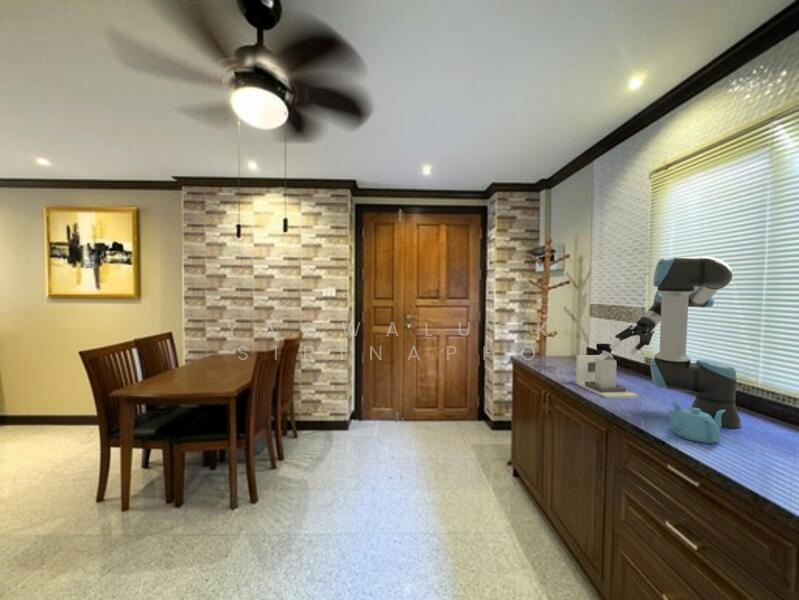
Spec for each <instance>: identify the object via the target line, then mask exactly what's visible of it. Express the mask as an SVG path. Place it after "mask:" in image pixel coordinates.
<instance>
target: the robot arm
mask: <svg viewBox="0 0 799 600" xmlns="http://www.w3.org/2000/svg"><path fill="white" fill-rule="evenodd" d="M732 279H733V270H732V268H731V267H730V266H729V265H728V264H727V263H726V262H724V261H723V260H721V259H720V258H715V257H712V256H687V257H666V258H660V259H659V260H658V261H657V263H656V266H655V270H654V275H653V282H652V284H653V285H652V286H653V287H655V288H657V290H656V292H655V294H654V299H653V303H652V305H651V306H650V308H648V310H647V311H646V312H645V313H644V314H643V315H642V316H641V317H640V318H639V319H638V320H637V321H636V325H635V326H633V325H629V326H628V327H627V328H625V329H623V330H622V331H621V332H619V333H617V334H616V335H615V336H614V337H615V340H614V341H613V342H612V343H610V344H611V346H610V348H611V349H612V351H615V350H616V349H617V348H618V347H619V345H620V344H622V341H624V340H627V339H628V338H630V337H635V336H638V337H639V340H638V341H637V342H636V343H635V344H634V346H632V348H630V349H629V350H628V351H629V353H630V354H631V355H632V356H634V355H636V354H637V353H638V351H640V350H641V349H642V348H643V347H644V346H650V343H651V341H652V337H653V335H654V333H655V331H654V329H655V328H656V326H658V324H660V333H659V351H658V352H657V353H656V354H654V358H651V359H650V360H649V363H650V364H649V365H650V372H651V373H650V374H651V378H652V379H651V380H652V383H653V386H655V387H656V388H660V389H664V390H665V389H666V390H673V391H674V390H675V391H682V392H689V393H695V398H694V400H693V403H692V405H691V408H699V409H701V412H704V413H707V414H709V415H710V416H711V417H712V418H713V420H714V418H715V415H716V413H717V412H718V411H719V410H726V411H725V412H724V413H723V414H722V416H721V428H725V429H739V428H740V427H741V425H742V424H741V423H742V420H741V418H740V416H739V412H738V410H737V407H736V391H737V390H736V387H737V371H736V368H734V367H733V366H732V365H729V364H725V363H723V362H717V361H713V360H707V359H697V360H696V361H695V362H691V358H690V357H689V356H688V355H687V338H688V337H687V335H688V317H689V316H688V315H689V308H691V307H692V308H711V307H713V306H714V303H715V294H716V293H717V292H718V291H719V290H722V289H723V288H725V287H727V286H728V285H729V284H730V283H731V282H732ZM691 408H689V410H691Z"/></svg>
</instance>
